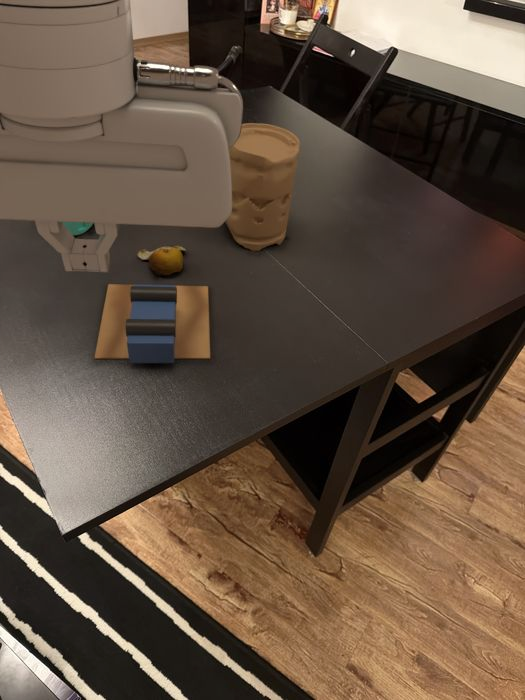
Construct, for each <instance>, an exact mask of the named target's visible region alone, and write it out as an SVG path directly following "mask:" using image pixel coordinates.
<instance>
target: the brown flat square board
mask: <svg viewBox="0 0 525 700" xmlns="http://www.w3.org/2000/svg"><path fill="white" fill-rule="evenodd" d="M134 285H135V284H123V283H121V284H119V283H115V284H114V283H108V284H107V290H106V295H105V301H104V305H103V311H102V316H101V322H100V326H99V327H100V328H99V331H98V338H97V342H96V347H95V353H94V360H129V355H128V348H127V338H128V337H127V336H126V320H127V319H130V315H131V307H132V303H131V299H130V289H131V286H134ZM176 287H177V304H176V337H175V358H174V360H210V359H211V341H210V340H211V338H210V337H211V336H210V304H209V286H208V285H176Z"/></svg>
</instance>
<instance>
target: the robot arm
mask: <svg viewBox="0 0 525 700" xmlns="http://www.w3.org/2000/svg"><path fill="white" fill-rule="evenodd" d="M131 9H132V7H131V0H0V220H7V221H9V220H12V221H32V222H33V221H34V223H35V227H36V231H37V233H38V235H40V237H42V238H43V239H44V240H45V241H46V242H47V243H48V244H49V245H50V246H51V247H52V248H53V249H54V250H55V251H56V252H57V253H58V254H60V255H61V259H62V263H63V267H64V270H65V272H94V273H109V270H110V264H111V255H110V249H111V247H112V245H114V242H115V241H116V239H117V237H118V236H119V229H120V225H133V226H136V225H137V226H138V225H139V226H160V227H163V226H164V227H188V228H210V229H213V228H219V227H221V226H222V225H224V223H226V222H225V221H226V220H227V219H228V218H229V217H230V216H231V214H232V180H231V166H230V155H229V148H231V147H232V146H233V145H234V144H235V143H236V142H237V140H238V138H239V136H240V133H241V129H242V124H243V115H244V114H243V113H244V101H243V97H242V94H241V92H240V90H239V88H238V87H237V86H236V84H235V83H233V82H232V81H231V80H230V79H228V78H227V77H224V76H223V75H219V70H218V68H215V67H212V66H208V65H194V66H187V65H186V66H185V65H180V64H179V65H178V64H175V63H169V62H164V61H155V60H154V61H153V60H144V59H137V58H136V57H135V46H134V45H135V44H134V35H133V24H132V23H133V21H132V19H133V18H132V10H131ZM137 81H138V86H137V84H136V82H137ZM219 85H221V86H223V87H225V88H222V87H219ZM62 222H83V223H93V225H94V229H95V230H94V231H95V234H97V235H99V237H98V238H93V239H92V238H91V239H90V238H89V239H88V238H87V239H85V238H75V236H73V235H72V234H71V233H70V232H69V230H68V229H67V228H66V227H65V226H64V224H63V223H62Z"/></svg>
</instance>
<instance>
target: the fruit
mask: <svg viewBox="0 0 525 700" xmlns="http://www.w3.org/2000/svg"><path fill="white" fill-rule="evenodd" d="M186 251H187V249H186V248H184V247H183V246H180V245H173V246H169V245H167V246H166V245H165V246H160V247H157V248H156V249H155V250H152V251H148V250H147V249H141V250H139V251H138V253H137V254H136V256H137V257H138V258H139V259H140V260H142V261H144V260H148V265H149V269H150V270H151V272H152V273H153V274H155V275H156V276H159V277H166V276H170V275H171V274H174V273H180V272H182V269H183V267H184V255H183V253H185V252H186ZM171 276H172V275H171Z"/></svg>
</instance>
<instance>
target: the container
mask: <svg viewBox="0 0 525 700" xmlns="http://www.w3.org/2000/svg"><path fill="white" fill-rule="evenodd" d="M300 148H301V141H300V139H299V138H298V136H297V135H296V134H294V133H293V132H291V131H290V130H288V129H285V128H283V127H280V126H277V125H273V124H268V123H255V122H248V123H247V122H246V123H242V129H241V133H240V136H239V138H238V140H237V142H236V143H235V144H234V145H233V146H232V147H231V148H229V155H230V166H231V180H232V214H231V216H230V217H229V218H228V219H227V220H226V221H225V222H224V223H225V224H226V226H227V228H228V229H229V232H230V233H231V235H232V238H233V240H234V241H235V242H236V243H238V245H241V246H243V248H245V249H249V250H250V251H253V252H256V251H257V252H259V251H261V250H262V249H264V248H266V247H268V246H271V245H274V244H276V245H278V246H280V245H282V243H283V241H284V240H285V238H286V234H287V227H288V222H289V216H290V210H291V204H292V198H293V190H294V186H295V180H296V174H297V167H298V158H299V155H300Z"/></svg>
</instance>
